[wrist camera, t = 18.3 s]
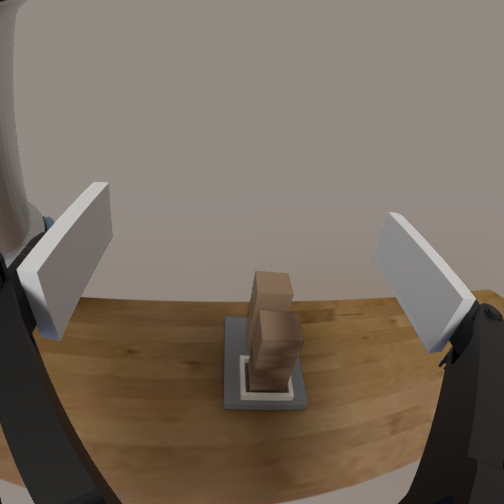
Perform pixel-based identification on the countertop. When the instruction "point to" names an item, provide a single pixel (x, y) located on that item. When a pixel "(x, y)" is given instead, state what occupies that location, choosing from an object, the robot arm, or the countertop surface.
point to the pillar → (274, 351)
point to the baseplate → (233, 373)
